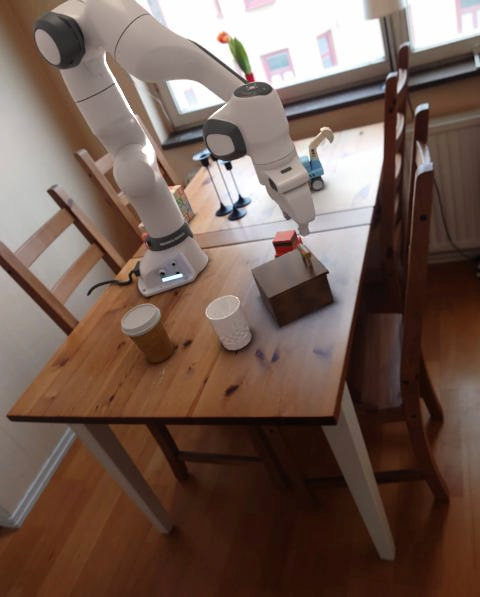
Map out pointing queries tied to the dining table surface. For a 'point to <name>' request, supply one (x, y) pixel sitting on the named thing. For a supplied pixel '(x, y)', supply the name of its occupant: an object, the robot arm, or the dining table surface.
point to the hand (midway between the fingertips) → (296, 226)
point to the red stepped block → (285, 242)
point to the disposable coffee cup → (147, 331)
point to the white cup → (229, 322)
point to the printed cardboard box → (182, 205)
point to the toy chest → (299, 301)
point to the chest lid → (289, 272)
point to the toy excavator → (316, 159)
